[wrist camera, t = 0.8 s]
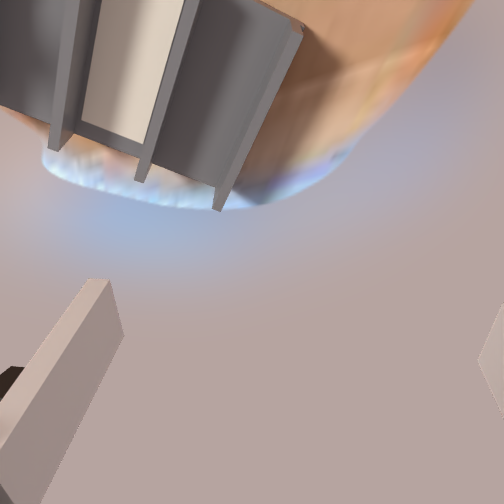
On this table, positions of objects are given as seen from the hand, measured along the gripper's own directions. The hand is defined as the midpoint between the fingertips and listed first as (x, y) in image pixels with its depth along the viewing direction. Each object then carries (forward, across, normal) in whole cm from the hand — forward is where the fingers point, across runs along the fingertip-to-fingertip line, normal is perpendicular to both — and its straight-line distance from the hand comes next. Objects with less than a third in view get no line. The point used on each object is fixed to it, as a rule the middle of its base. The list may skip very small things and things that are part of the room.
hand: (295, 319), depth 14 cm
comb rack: (+23, -13, +5) cm, 27 cm away
